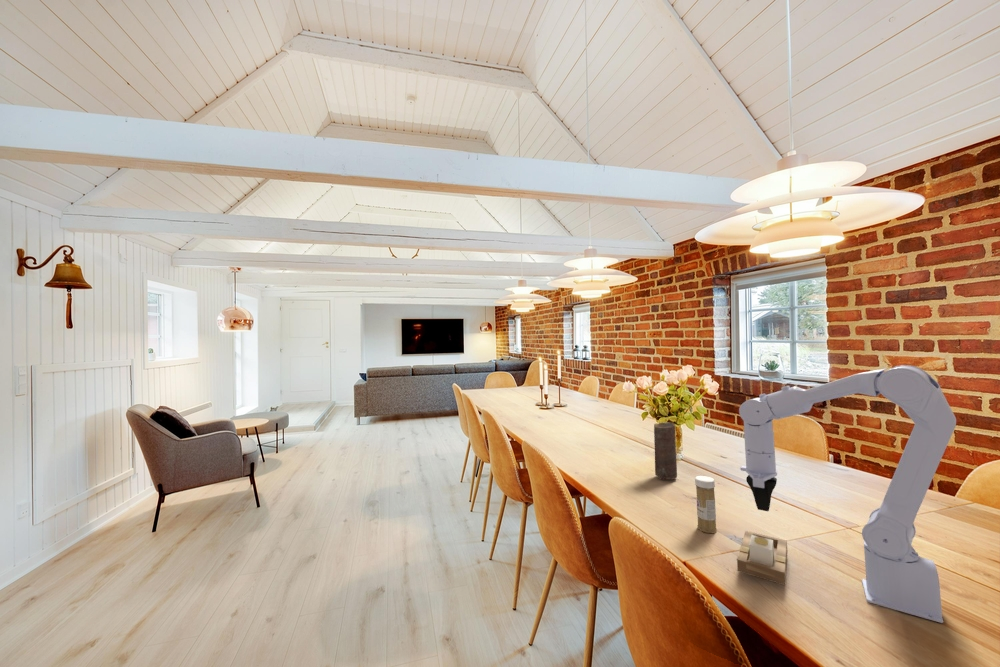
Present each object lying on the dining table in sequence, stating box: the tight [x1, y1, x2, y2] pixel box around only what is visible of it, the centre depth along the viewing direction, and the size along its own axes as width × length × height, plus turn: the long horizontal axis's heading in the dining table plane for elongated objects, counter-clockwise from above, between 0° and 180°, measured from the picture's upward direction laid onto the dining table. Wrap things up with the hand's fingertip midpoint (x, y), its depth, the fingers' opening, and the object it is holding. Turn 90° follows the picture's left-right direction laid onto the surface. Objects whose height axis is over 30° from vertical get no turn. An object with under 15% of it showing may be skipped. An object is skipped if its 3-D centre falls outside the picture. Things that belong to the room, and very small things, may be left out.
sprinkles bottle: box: [694, 475, 718, 534], centre depth 99 cm, size 5×5×14 cm
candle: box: [653, 421, 678, 480], centre depth 137 cm, size 8×7×20 cm
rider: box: [749, 535, 774, 567], centre depth 81 cm, size 5×4×4 cm
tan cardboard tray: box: [736, 530, 788, 585], centre depth 83 cm, size 15×8×4 cm, turn 141°
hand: (763, 509), depth 87 cm, fingers closed
